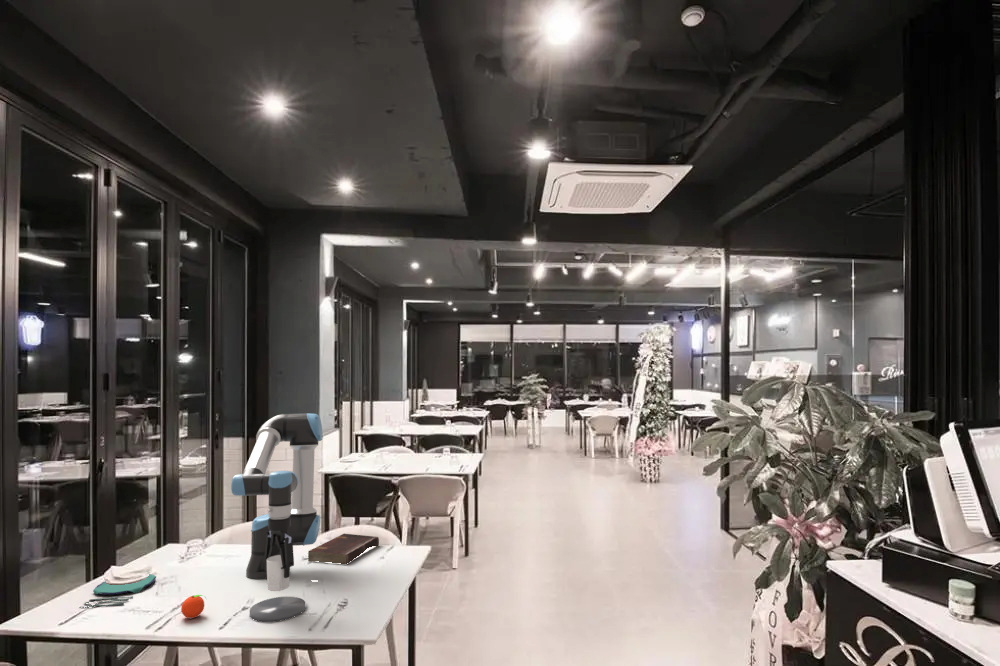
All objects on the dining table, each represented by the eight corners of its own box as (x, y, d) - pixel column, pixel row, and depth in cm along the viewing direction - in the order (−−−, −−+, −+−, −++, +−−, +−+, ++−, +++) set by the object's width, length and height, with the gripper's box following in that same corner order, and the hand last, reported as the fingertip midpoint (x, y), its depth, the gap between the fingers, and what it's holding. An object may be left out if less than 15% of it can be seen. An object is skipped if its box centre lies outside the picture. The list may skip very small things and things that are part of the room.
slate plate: (239, 612, 198) (239, 608, 198) (287, 596, 212) (287, 592, 212) (267, 626, 187) (267, 622, 187) (315, 609, 201) (316, 604, 201)
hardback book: (346, 566, 248) (346, 554, 248) (308, 562, 253) (308, 551, 253) (378, 546, 275) (378, 536, 276) (343, 544, 280) (344, 533, 281)
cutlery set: (164, 577, 235) (164, 571, 235) (128, 607, 205) (128, 601, 205) (111, 580, 232) (111, 574, 232) (66, 612, 202) (66, 605, 202)
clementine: (201, 610, 201) (202, 589, 201) (211, 615, 196) (211, 594, 197) (177, 618, 194) (178, 596, 195) (186, 623, 190) (186, 601, 191)
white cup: (261, 591, 197) (261, 561, 198) (274, 583, 205) (275, 554, 205) (282, 592, 195) (282, 562, 196) (294, 584, 203) (295, 555, 204)
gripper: (254, 514, 205) (252, 581, 204) (285, 523, 193) (284, 594, 191) (274, 510, 211) (272, 575, 210) (306, 519, 198) (304, 587, 197)
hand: (278, 584), depth 200 cm, fingers closed on white cup, 8 cm apart
